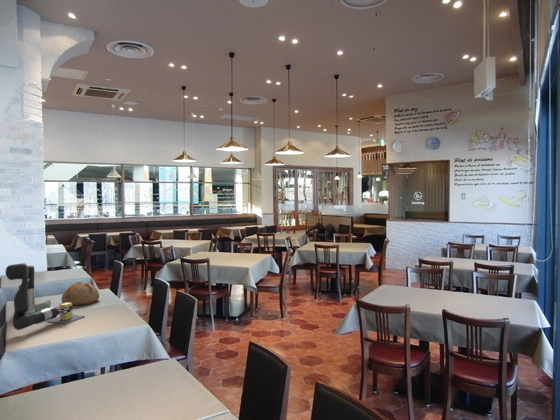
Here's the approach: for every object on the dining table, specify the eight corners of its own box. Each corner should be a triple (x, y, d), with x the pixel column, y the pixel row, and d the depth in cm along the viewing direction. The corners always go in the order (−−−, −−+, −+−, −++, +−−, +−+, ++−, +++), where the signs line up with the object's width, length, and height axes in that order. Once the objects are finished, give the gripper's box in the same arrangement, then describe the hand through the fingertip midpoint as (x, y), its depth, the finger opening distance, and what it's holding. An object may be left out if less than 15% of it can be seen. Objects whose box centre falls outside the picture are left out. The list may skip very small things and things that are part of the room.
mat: (46, 322, 251) (46, 321, 251) (66, 314, 266) (66, 314, 266) (65, 324, 246) (65, 323, 246) (85, 316, 261) (85, 316, 261)
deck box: (60, 319, 254) (59, 304, 254) (67, 316, 260) (66, 302, 259) (65, 320, 253) (65, 305, 253) (72, 317, 258) (72, 302, 258)
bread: (55, 304, 295) (54, 284, 294) (81, 297, 316) (81, 279, 316) (79, 307, 284) (78, 287, 284) (104, 300, 305) (104, 281, 305)
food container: (41, 319, 256) (41, 305, 255) (33, 319, 257) (33, 304, 257) (55, 314, 268) (55, 300, 267) (48, 314, 269) (48, 299, 269)
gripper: (55, 309, 240) (77, 302, 256) (38, 307, 244) (60, 300, 261) (56, 321, 240) (77, 313, 256) (38, 319, 245) (61, 311, 261)
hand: (69, 307), depth 258 cm, fingers open, 5 cm apart
